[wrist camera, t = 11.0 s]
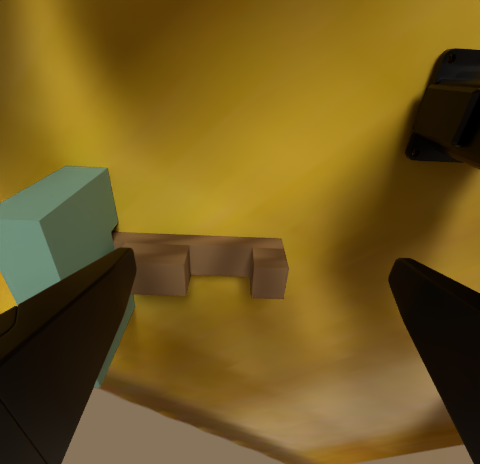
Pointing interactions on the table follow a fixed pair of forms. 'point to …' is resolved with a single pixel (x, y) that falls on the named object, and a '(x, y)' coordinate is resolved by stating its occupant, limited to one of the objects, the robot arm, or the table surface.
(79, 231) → the teal plate
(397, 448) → the table surface
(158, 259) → the walnut rail
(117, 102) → the table surface
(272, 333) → the table surface
